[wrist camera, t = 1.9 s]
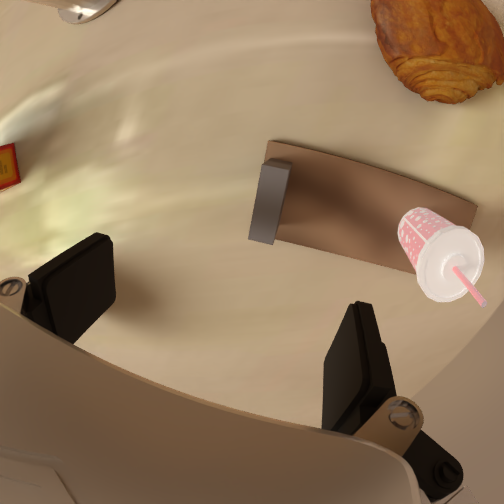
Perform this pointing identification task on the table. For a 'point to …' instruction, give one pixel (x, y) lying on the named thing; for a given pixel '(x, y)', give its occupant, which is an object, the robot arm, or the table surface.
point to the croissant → (440, 46)
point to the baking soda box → (8, 167)
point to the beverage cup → (442, 255)
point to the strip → (342, 205)
